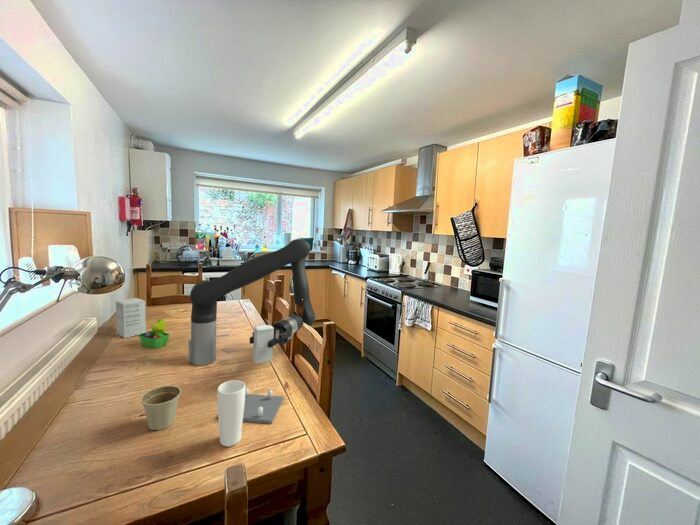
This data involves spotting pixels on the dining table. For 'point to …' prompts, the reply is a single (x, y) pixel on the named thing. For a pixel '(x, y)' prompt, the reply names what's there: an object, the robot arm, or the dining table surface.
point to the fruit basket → (155, 336)
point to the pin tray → (261, 407)
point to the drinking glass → (230, 411)
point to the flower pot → (161, 406)
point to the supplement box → (130, 317)
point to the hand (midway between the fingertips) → (259, 342)
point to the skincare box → (262, 343)
